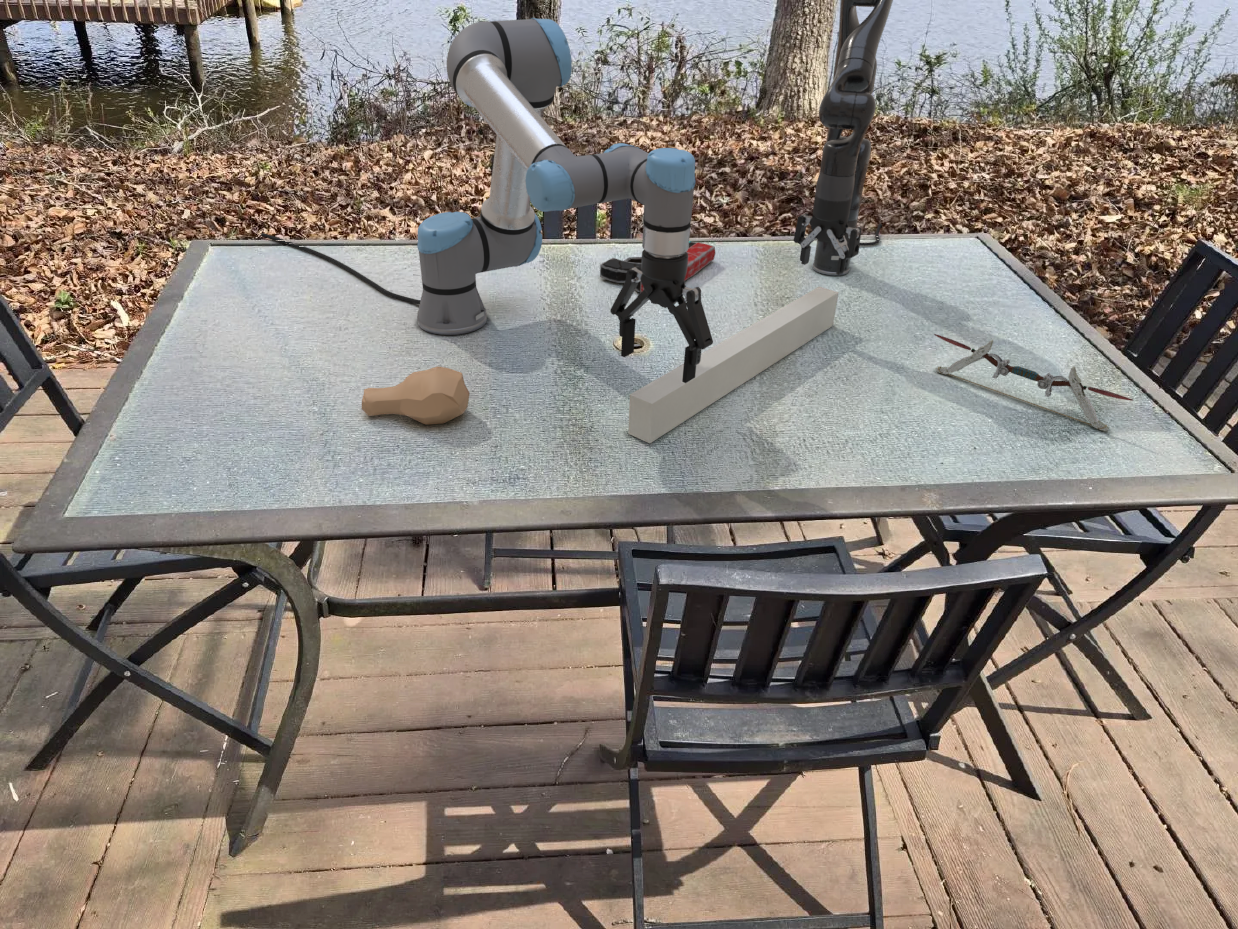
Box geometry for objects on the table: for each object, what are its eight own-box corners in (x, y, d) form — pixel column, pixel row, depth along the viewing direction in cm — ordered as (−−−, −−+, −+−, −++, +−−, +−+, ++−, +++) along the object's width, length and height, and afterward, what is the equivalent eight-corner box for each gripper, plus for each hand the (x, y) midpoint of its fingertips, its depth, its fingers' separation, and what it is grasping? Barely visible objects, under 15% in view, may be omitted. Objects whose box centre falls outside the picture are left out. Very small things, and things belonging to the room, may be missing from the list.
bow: (1121, 433, 163) (1140, 386, 158) (1118, 437, 162) (1137, 389, 156) (928, 365, 184) (939, 321, 179) (924, 368, 183) (935, 324, 178)
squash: (470, 431, 159) (458, 392, 152) (363, 439, 160) (347, 401, 154) (477, 393, 166) (467, 355, 160) (375, 401, 168) (361, 364, 162)
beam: (649, 443, 156) (651, 403, 152) (628, 433, 159) (629, 394, 154) (832, 325, 200) (838, 292, 196) (813, 319, 203) (819, 286, 198)
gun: (594, 265, 215) (663, 284, 207) (655, 228, 237) (719, 244, 229) (593, 282, 218) (662, 301, 210) (654, 244, 240) (718, 261, 232)
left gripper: (742, 265, 138) (728, 383, 150) (620, 225, 150) (616, 337, 163) (715, 278, 133) (703, 399, 145) (592, 236, 146) (589, 350, 158)
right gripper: (873, 197, 179) (859, 272, 189) (812, 182, 187) (802, 255, 196) (856, 205, 175) (843, 282, 184) (794, 190, 182) (784, 264, 191)
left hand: (657, 366), depth 154 cm, fingers open, 13 cm apart
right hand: (822, 268), depth 190 cm, fingers open, 8 cm apart
